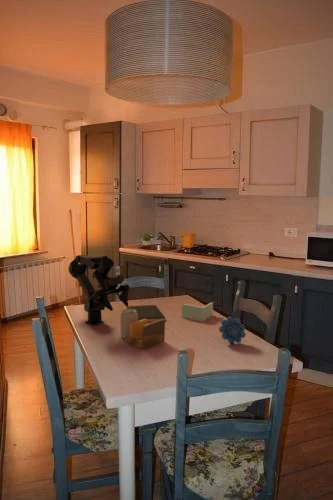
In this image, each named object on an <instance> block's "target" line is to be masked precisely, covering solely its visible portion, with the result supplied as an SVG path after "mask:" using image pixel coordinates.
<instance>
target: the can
mask: <svg viewBox="0 0 333 500" xmlns="http://www.w3.org/2000/svg"><path fill="white" fill-rule="evenodd" d="M137 321H138V314H137V312H136V310H134V309H125V308H124V309H122V312H121V313H120V337H122V338H123V340H125V336H127V335H128V336H130V323H133V322H137Z"/></svg>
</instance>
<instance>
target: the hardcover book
mask: <svg viewBox="0 0 333 500" xmlns="http://www.w3.org/2000/svg"><path fill="white" fill-rule="evenodd" d="M126 309H134V310H136V312H137V314H138V321H140V320H143V319H147V323H152V322H155V321H158V320H160V319H166V317H165V315H164V314H163V313H162V311H161V310H160V309H159V308H158V306H157V305H156V304H145V305H143V304H142V305H128V307H126Z"/></svg>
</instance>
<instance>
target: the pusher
mask: <svg viewBox="0 0 333 500" xmlns="http://www.w3.org/2000/svg"><path fill="white" fill-rule="evenodd" d="M146 324H148V322H147V319H143V320H140V321H137V322H133V323H130V337H133V338H136V339H139V340H142V337H143V325H146Z"/></svg>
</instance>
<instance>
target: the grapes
mask: <svg viewBox="0 0 333 500" xmlns="http://www.w3.org/2000/svg"><path fill="white" fill-rule="evenodd" d="M220 324H221V326H219V328H218V331H219V332H220V333H221V338H222V339H223V340H225V341H226V340H227V341H228V343H229V344H231V343H233V344H235V343H238V344H240V343H241V342H242V339H244V338H245V337H246V332H245V330H246V325H244V324H243V323H242V322H241V319H240V318H237V317H236V318H234V317H233V316H228V317H227V318H226V319H222V320H221V322H220Z"/></svg>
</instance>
